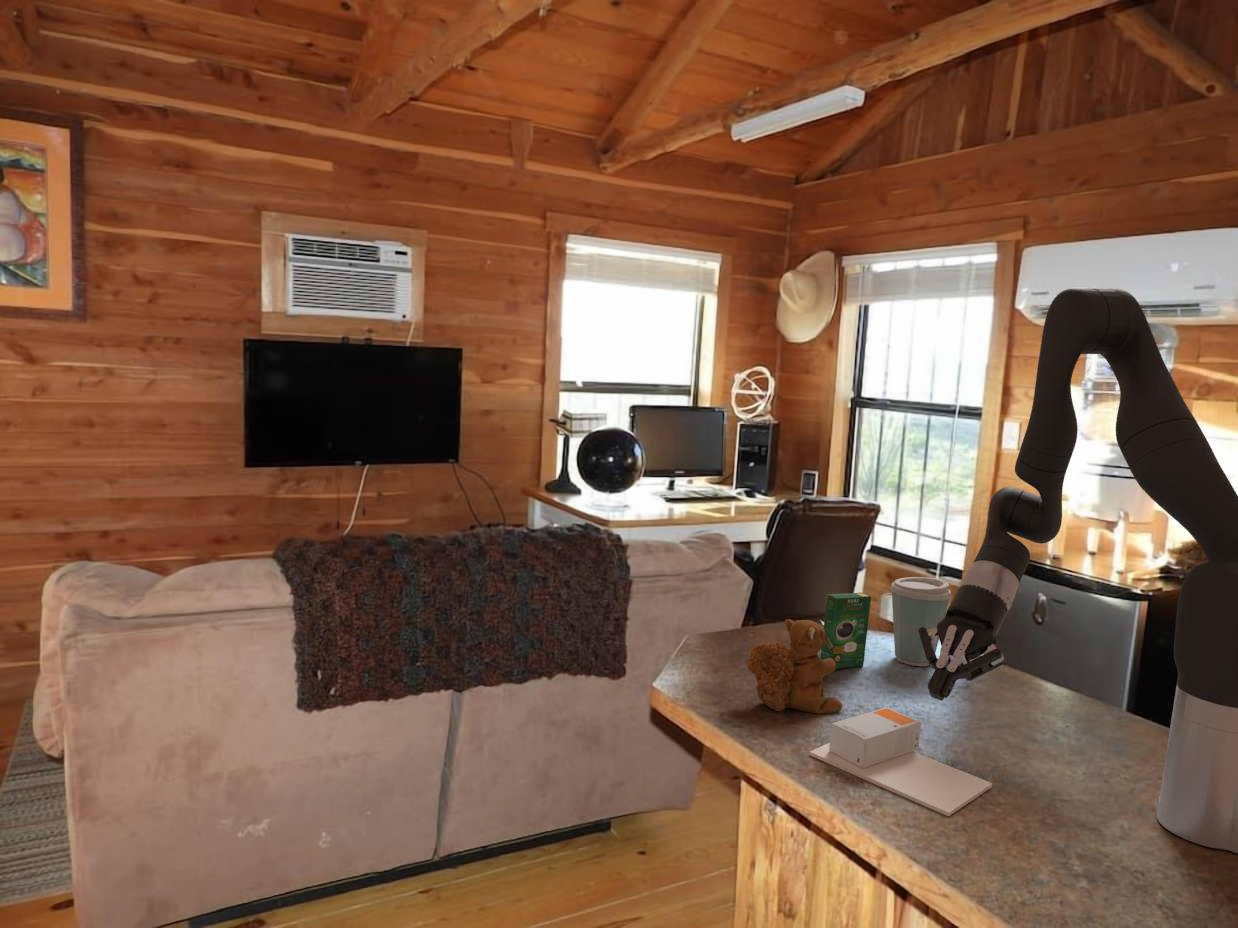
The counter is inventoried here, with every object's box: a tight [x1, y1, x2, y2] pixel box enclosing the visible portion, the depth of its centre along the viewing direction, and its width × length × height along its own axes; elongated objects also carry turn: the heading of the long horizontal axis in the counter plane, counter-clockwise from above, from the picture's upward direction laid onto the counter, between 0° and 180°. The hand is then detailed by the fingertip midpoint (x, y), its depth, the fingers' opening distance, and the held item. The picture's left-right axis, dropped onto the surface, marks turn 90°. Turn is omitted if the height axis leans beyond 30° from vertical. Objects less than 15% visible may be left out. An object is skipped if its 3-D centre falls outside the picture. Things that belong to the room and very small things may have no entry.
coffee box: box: [819, 592, 872, 671], centre depth 157 cm, size 8×3×13 cm, turn 115°
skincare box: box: [829, 706, 922, 768], centre depth 124 cm, size 6×4×12 cm
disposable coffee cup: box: [890, 576, 952, 667], centre depth 163 cm, size 11×11×15 cm
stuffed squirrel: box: [745, 618, 843, 714], centre depth 139 cm, size 10×14×13 cm
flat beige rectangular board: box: [809, 742, 993, 817], centre depth 119 cm, size 20×12×1 cm, turn 44°
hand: (935, 696), depth 127 cm, fingers closed
